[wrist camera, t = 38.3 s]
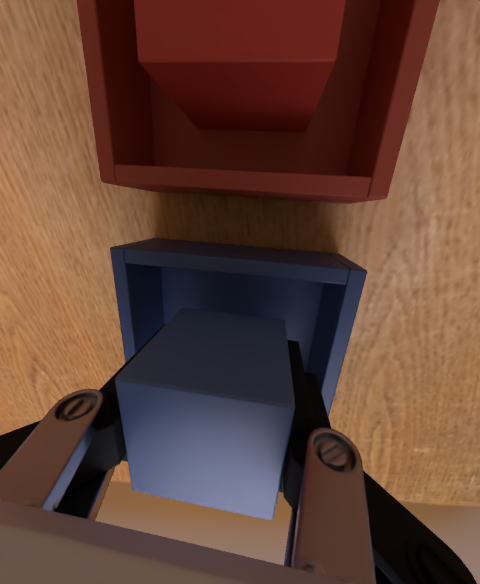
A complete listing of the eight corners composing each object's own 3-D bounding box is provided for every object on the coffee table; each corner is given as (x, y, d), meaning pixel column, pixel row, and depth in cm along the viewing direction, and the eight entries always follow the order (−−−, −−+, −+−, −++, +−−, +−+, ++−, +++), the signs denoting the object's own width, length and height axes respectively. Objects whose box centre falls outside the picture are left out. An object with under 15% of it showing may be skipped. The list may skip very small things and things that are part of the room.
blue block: (285, 319, 9) (296, 406, 5) (273, 402, 11) (273, 521, 7) (181, 306, 10) (112, 378, 6) (183, 388, 12) (131, 492, 7)
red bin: (423, -133, 7) (560, -446, 4) (350, 203, 10) (387, 198, 7) (129, -108, 8) (30, -333, 5) (150, 191, 11) (99, 182, 8)
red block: (328, -28, 8) (403, -344, 3) (306, 132, 9) (336, 61, 5) (197, -22, 8) (111, -292, 4) (197, 129, 10) (137, 62, 5)
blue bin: (339, 253, 11) (368, 270, 8) (306, 404, 14) (317, 460, 11) (153, 237, 12) (109, 246, 9) (163, 381, 15) (133, 427, 12)
